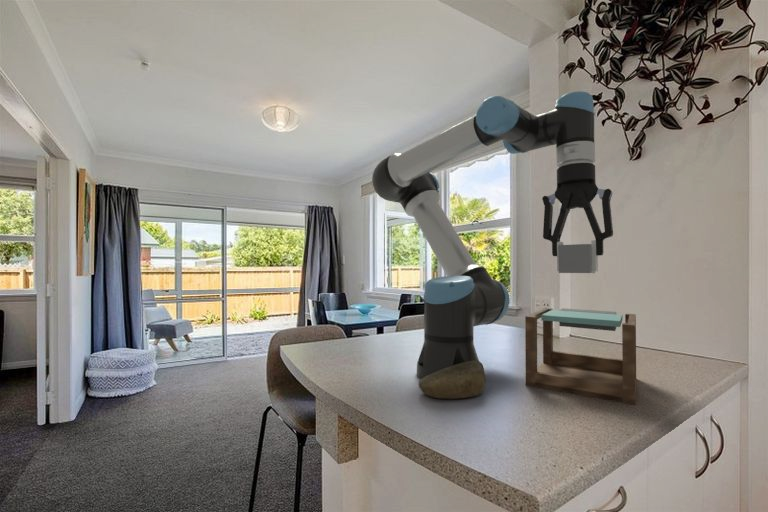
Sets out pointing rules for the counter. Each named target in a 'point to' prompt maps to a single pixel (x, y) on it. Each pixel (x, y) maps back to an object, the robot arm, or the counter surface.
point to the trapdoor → (584, 318)
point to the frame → (582, 365)
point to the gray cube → (575, 258)
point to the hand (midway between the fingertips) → (577, 271)
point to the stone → (455, 381)
